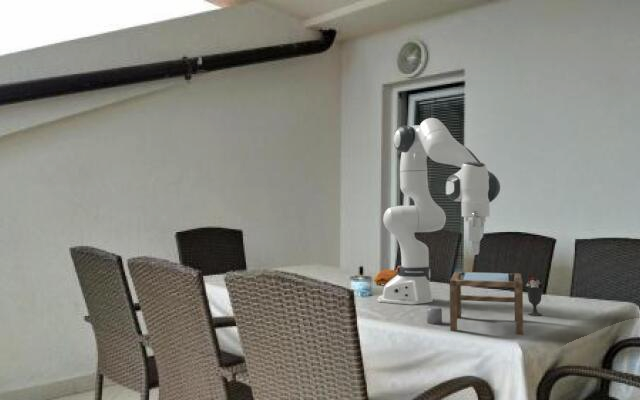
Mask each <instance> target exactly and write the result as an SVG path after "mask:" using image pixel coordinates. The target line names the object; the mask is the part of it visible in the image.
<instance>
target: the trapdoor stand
mask: <svg viewBox="0 0 640 400" xmlns="http://www.w3.org/2000/svg"><path fill="white" fill-rule="evenodd" d="M462 276H465V272H462V271H454V272H453V274H452V276H451V277H450V280H449V318H450V319H449V322H450V324H449V327H450V329H449V330H450V331H451V332H453V331H455V332H457V331H458V319H461V318H462V301H463V302H464V301H468V302H491V303H492V302H493V303H494V302H495V303H496V302H497V303H514V321H515V334H516V335H524V317H523V316H524V309H523V308H524V303H523V302H524V301H523V300H524V298H523V297H524V296H523V293H524V291H523V290H524V289H523V285H524V284H523V283H524V282H523V279H522V274H521V273H517V272H514V273H509V277H514V278H513V281H510V280H509V281H478V280H463V279H462ZM463 286H464V287H467V286H468V287H488V288H491V287H494V288H495V287H496V288H497V287H498V288H514V295H513V296H496V295H495V296H493V295H492V296H491V295H466V294H465V295H464V294H462V287H463Z"/></svg>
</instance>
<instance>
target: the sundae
mask: <svg viewBox="0 0 640 400" xmlns="http://www.w3.org/2000/svg"><path fill="white" fill-rule="evenodd" d="M527 275H528V276H529V278H528V282H527V283H526V285H525V286H524V287H525V289H526V291H527V298H528V302H529V303H530V304H531V305H532V310H531V312H528V313H527V315H528V316H531V317H542V316H543V313H539V312H538V308H537V306H538V305H539V304H540V303H541V301H542V297H543V296H542V293H543V290H544V289H545V286H544V285H543V284H544V281H542V282H540V280H538V279H537V278H535V277H533V275H532V274H531V273H530V272H527Z"/></svg>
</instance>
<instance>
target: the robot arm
mask: <svg viewBox="0 0 640 400" xmlns="http://www.w3.org/2000/svg"><path fill="white" fill-rule="evenodd" d="M393 134H394V135H393V144H394V147H395V149H396V150H397V151H398V152H401V154H400V160H399V161H400V162H399V182H400V183H399V185H400V186H399V187H400V190H401V192H402V194H403V195H405V196H406V197H408V198H411V199H412V201H413V202H414V205H397V206H396V205H395V206H391V207H388V208H387V209H386V210H385V212H384V214H383V218H382V221H383V224H384V227H385V229H386V230H387V231H388V232H390V233H391V234H392V235H393V236H394V237H395V238H396V240H397V242H398V245H399V249H400V257H401V258H400V260H401V265H398V266H397V267H396V270H397V274H398V275H397V276H395V277H394V278H393V279H391V280H390V281H389V282H388V283H387V284H386V285H385V286H384V285H383V286H384V287H383V291H382V295H379V296H378V297H377V302H378V303H389V304H397V305H398V304H400V305H402V304H403V305H419V304H428V303H432V302H433V301H434V298H433V295H432V289H431V284H430V280H431V267H430V261H429V257H430V256H429V255H430V253H429V252H430V251H429V247H428V246H427V244H426V243H424V242H422V241H420V240H418V239H417V238H416V236H415V233H432V232H436V231H441V230H442V229H443V228H444V226H445V224H446V221H447V217H446V213H445V210H444V209H443V208H442V207H441V206H439V205H438V204H437V203H436V202H435V200H434V199H433V198H432V196H431V193H430V189H429V181H428V164H427V157H429V159H431V160H432V161H433V162H436V163H439V164H444V165H451V166H456V167H459V168H460V170H458V171H457V172H455V173H454V174H450V176H448V177H447V179H446V180H445V184H444V190H445V191H444V192H445V195H446V196H447V197H448V199H449V200H451V201H454V202H461V207H460V208H461V217H462V218H465V222H467V238H468V242H471V246H472V247H471V248H472V255H474V256H477V255H479V253H480V250H481V249H480V245H481V240H482V239H483V237H484V231H485V230H484V229H485V222H487V221H486V218H487V217H490V203H492V202H493V201H494V200H495V199H496V198H498V195H499V193H500V190H501V184H500V181H499V179H498V177H497V176H496V175H495V174H494V173H493V172H491V171H489V170H488V167H487V165H486V164H485V163H483V162H481V161H480V160H479V159H478V157H477V156H475V154H474V153H473V152H472V151H471V150H470V149H469V148H467V147H466V146H464V145H463V144H462V143H460V142H459V141H457V140H456V138H454V136H453V135H452V134H451V133H450V131H449V129H448V128H447V127H446V125H445V124H444V123H443V122H442V121H441V120H440V119H438V118H436V117H429V118H426V119H424V120H423V121H421V123H420V125H419V124H417V125H416V124H415V125H402V126H399V127H398V128H396V130H395V131H394V133H393Z"/></svg>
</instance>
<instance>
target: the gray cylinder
mask: <svg viewBox="0 0 640 400" xmlns="http://www.w3.org/2000/svg"><path fill="white" fill-rule="evenodd" d="M426 323H427V324H429V325H441V324H443V307H440V306H428V307H427V308H426Z"/></svg>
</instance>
